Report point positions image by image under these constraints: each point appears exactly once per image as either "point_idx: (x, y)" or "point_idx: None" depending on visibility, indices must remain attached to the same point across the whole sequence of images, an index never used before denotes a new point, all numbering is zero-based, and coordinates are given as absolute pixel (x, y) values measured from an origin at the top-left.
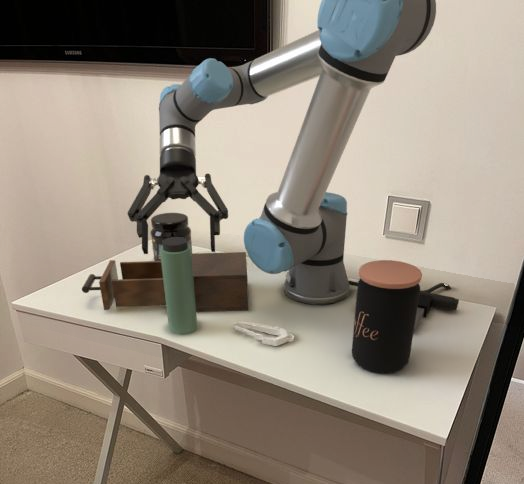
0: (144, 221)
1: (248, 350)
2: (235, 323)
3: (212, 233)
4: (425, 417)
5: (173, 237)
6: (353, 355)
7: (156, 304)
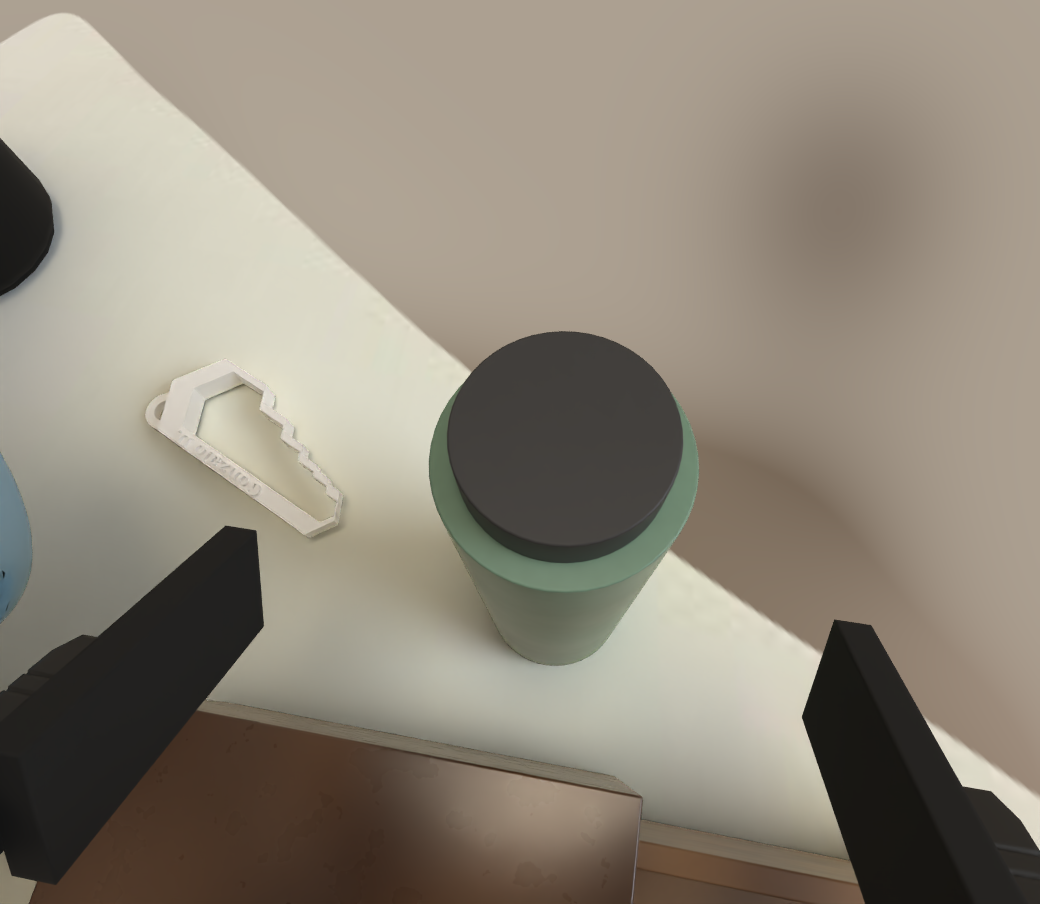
0: (988, 899)
1: (338, 373)
2: (329, 517)
3: (161, 595)
4: (53, 47)
5: (570, 529)
6: (41, 227)
7: (685, 828)
